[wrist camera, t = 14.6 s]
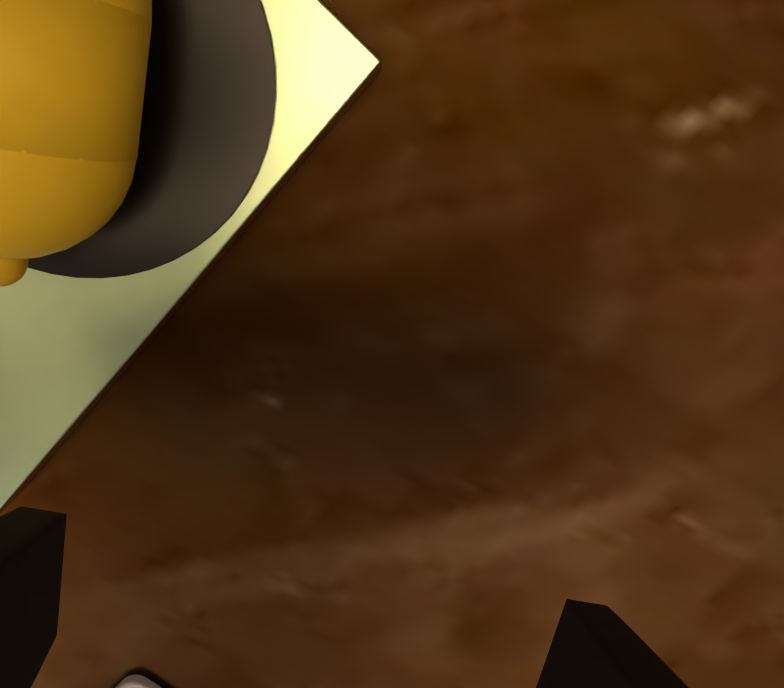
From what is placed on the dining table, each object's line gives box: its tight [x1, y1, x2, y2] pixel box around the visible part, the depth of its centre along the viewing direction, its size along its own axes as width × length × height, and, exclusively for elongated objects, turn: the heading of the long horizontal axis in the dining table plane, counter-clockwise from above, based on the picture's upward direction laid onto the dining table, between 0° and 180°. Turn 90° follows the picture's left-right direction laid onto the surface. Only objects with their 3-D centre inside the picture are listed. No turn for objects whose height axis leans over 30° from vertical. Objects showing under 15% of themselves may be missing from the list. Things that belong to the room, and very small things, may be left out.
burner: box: [28, 0, 277, 278], centre depth 14 cm, size 8×8×1 cm
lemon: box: [0, 0, 152, 287], centre depth 12 cm, size 8×4×4 cm, turn 167°
